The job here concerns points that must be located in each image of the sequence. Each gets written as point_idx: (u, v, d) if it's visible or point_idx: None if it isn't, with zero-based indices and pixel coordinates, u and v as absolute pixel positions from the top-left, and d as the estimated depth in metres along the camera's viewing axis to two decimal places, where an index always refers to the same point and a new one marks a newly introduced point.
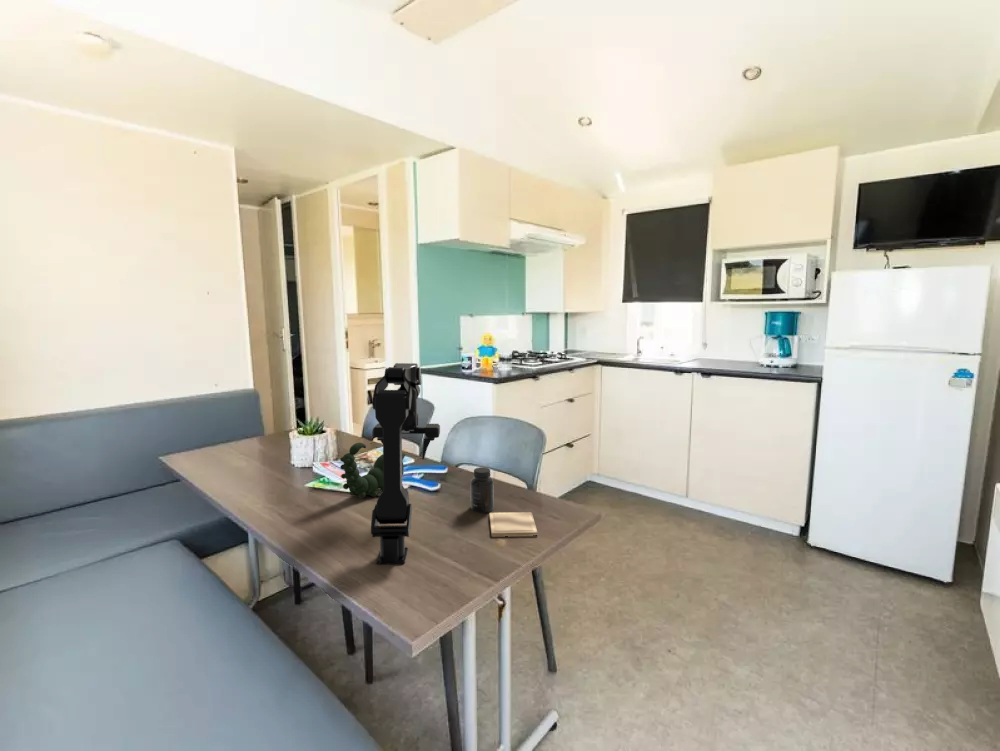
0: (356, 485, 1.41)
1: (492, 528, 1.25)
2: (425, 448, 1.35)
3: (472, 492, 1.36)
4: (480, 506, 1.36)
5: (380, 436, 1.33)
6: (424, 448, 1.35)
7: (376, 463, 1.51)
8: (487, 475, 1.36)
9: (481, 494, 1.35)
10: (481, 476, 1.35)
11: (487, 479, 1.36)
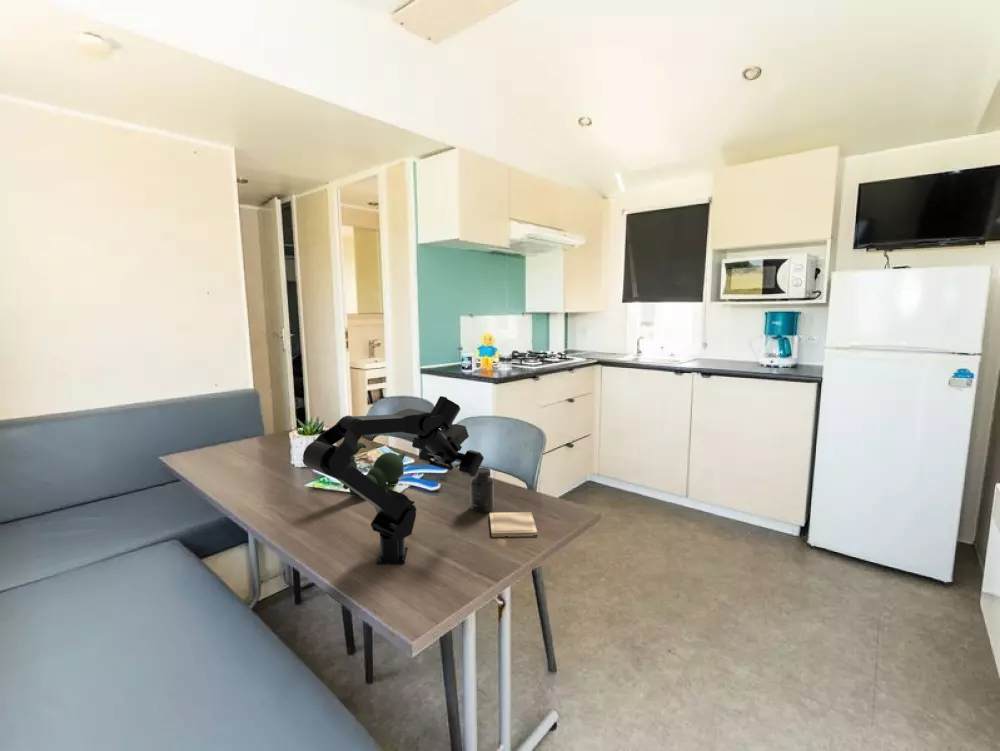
0: None
1: (492, 528, 1.25)
2: None
3: (472, 492, 1.36)
4: (480, 506, 1.36)
5: (426, 462, 1.28)
6: None
7: (376, 463, 1.51)
8: (487, 475, 1.36)
9: (481, 494, 1.35)
10: (481, 476, 1.35)
11: (487, 479, 1.36)
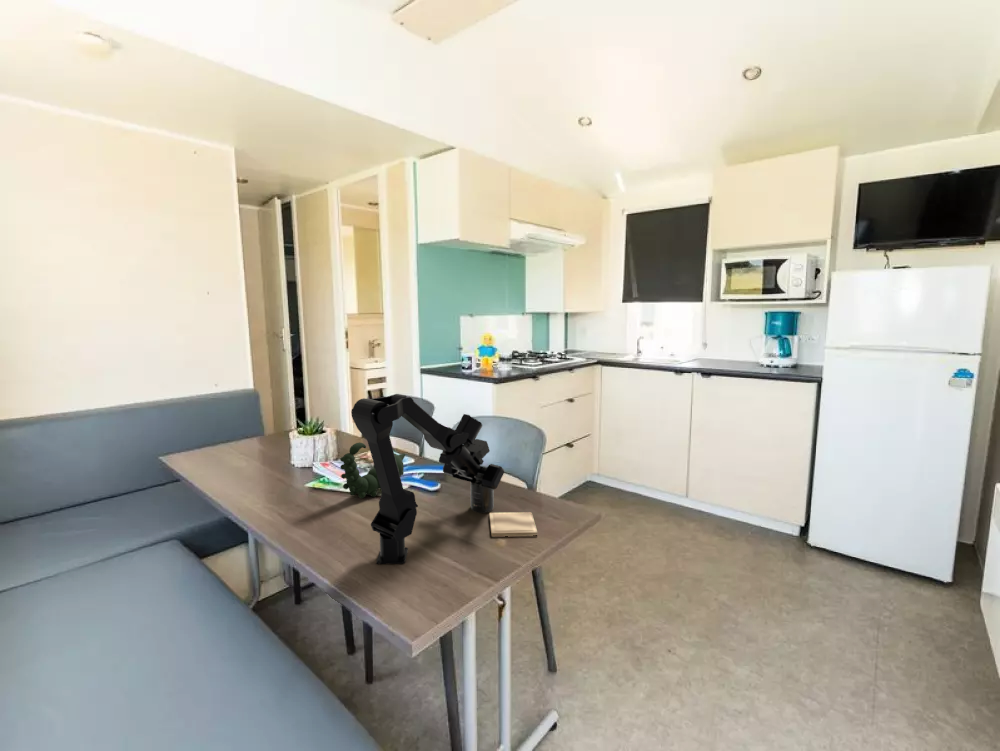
0: (356, 485, 1.41)
1: (492, 528, 1.25)
2: None
3: (472, 492, 1.36)
4: (480, 506, 1.36)
5: (450, 475, 1.37)
6: None
7: None
8: None
9: (481, 494, 1.35)
10: (481, 476, 1.35)
11: None
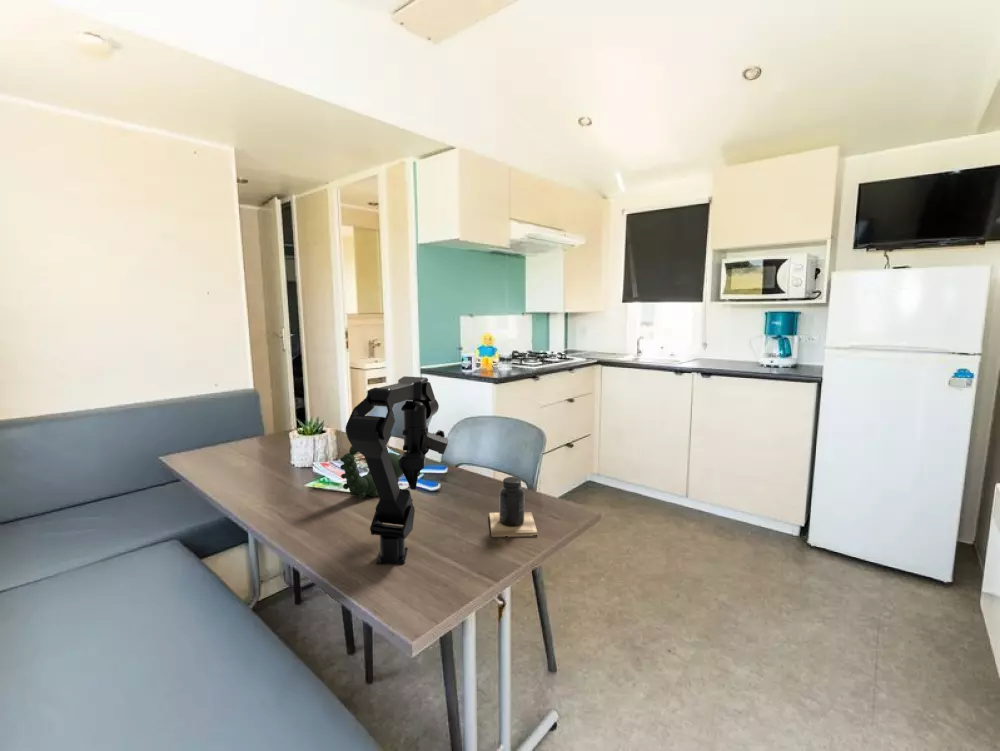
0: (356, 485, 1.41)
1: (492, 528, 1.25)
2: None
3: (499, 502, 1.27)
4: (505, 519, 1.26)
5: None
6: None
7: None
8: (515, 486, 1.25)
9: (507, 505, 1.25)
10: (508, 486, 1.25)
11: (515, 491, 1.25)
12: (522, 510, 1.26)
